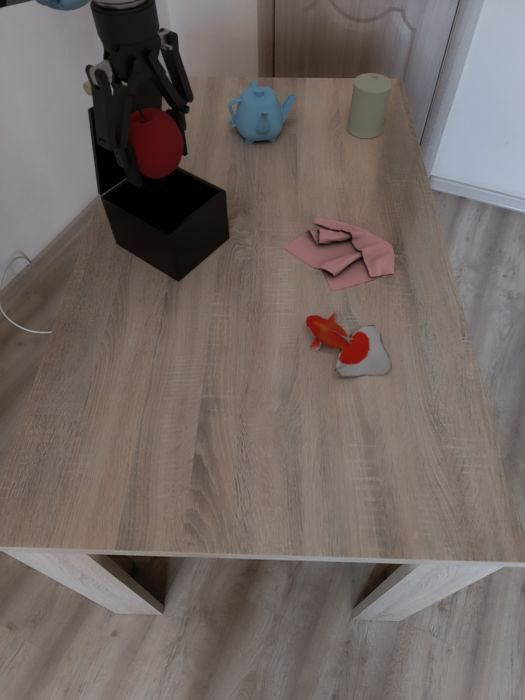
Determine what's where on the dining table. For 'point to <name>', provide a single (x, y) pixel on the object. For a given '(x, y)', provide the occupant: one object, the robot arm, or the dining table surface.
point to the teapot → (259, 113)
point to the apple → (155, 142)
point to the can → (369, 105)
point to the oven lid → (105, 159)
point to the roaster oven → (169, 220)
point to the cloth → (344, 253)
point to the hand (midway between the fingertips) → (158, 167)
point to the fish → (351, 346)
